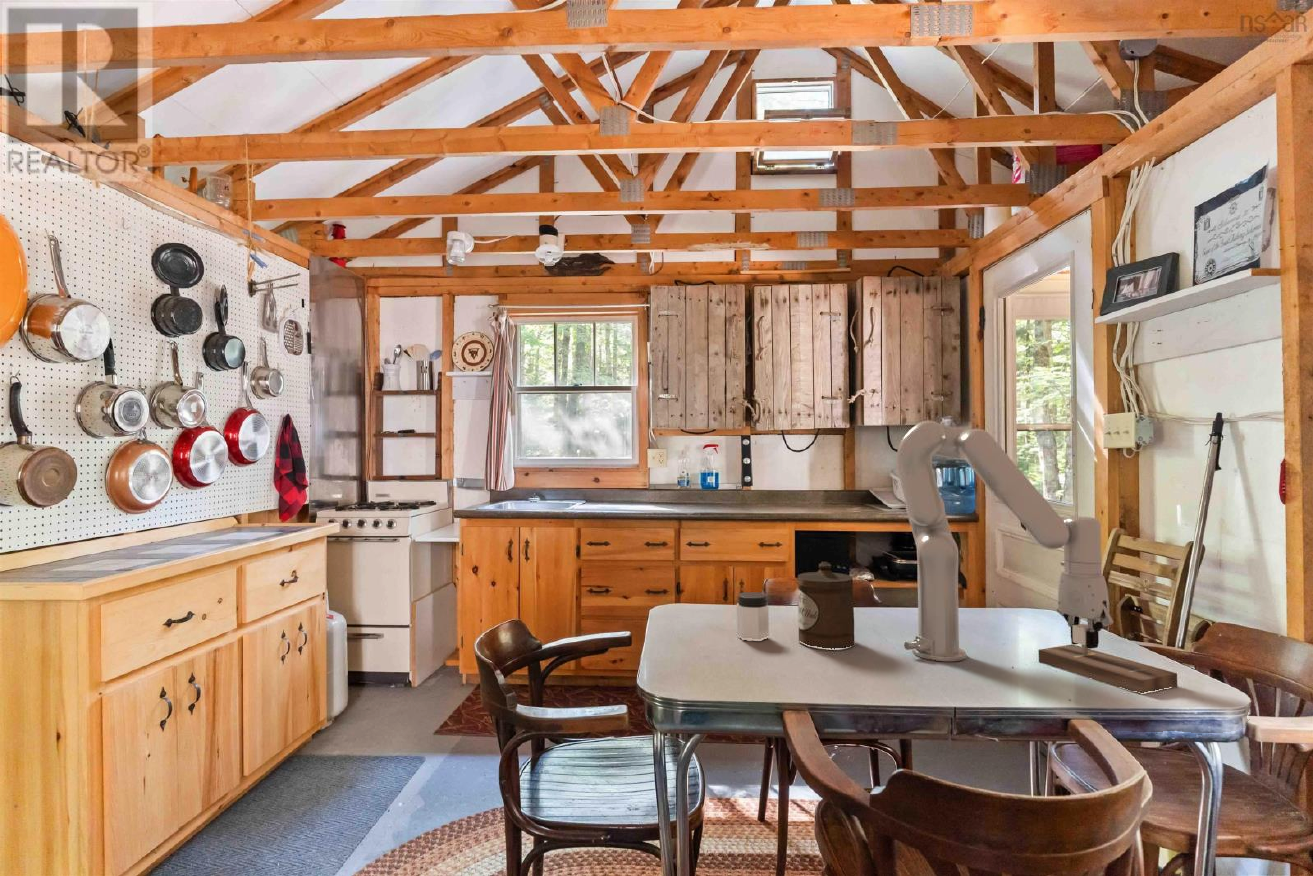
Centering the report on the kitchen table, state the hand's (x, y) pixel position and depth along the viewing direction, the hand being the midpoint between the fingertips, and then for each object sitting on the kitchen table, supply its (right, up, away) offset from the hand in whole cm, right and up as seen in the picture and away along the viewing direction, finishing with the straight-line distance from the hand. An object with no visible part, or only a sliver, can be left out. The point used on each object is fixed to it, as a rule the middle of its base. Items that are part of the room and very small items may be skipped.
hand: (1084, 645), depth 157 cm
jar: (-76, -7, +27) cm, 81 cm away
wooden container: (-56, -7, +22) cm, 61 cm away
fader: (0, -2, 0) cm, 2 cm away
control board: (+2, -5, -4) cm, 7 cm away
